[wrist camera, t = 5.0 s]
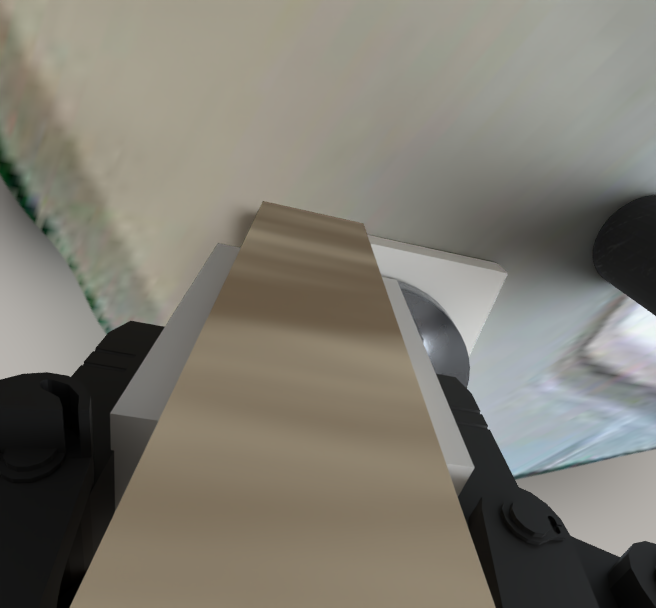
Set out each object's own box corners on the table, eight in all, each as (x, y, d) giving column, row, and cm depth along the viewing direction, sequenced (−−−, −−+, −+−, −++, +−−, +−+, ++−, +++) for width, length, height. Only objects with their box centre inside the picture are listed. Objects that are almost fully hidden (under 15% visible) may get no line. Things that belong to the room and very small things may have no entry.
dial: (279, 249, 28) (273, 278, 23) (496, 295, 30) (526, 328, 26) (246, 426, 35) (236, 472, 31) (422, 452, 37) (436, 499, 33)
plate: (265, 212, 29) (261, 222, 27) (497, 263, 31) (511, 276, 29) (234, 403, 37) (229, 423, 35) (420, 432, 39) (427, 452, 37)
